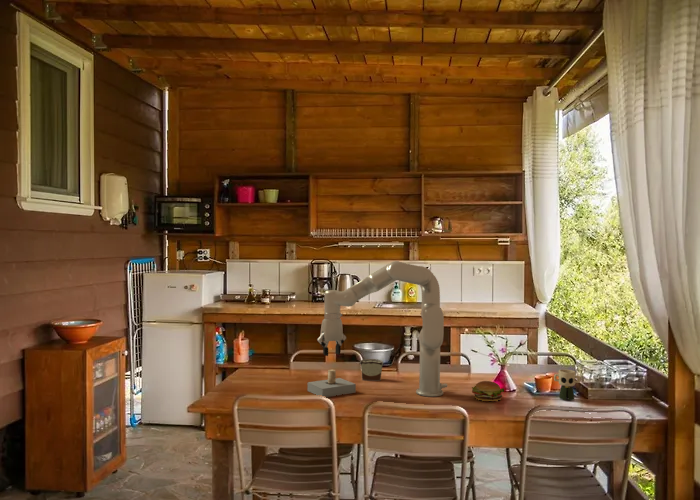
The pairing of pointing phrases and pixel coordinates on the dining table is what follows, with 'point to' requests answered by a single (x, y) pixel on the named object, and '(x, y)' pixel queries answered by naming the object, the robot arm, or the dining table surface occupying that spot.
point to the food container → (371, 369)
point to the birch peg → (331, 377)
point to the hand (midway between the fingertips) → (331, 354)
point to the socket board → (331, 387)
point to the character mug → (566, 383)
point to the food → (487, 391)
